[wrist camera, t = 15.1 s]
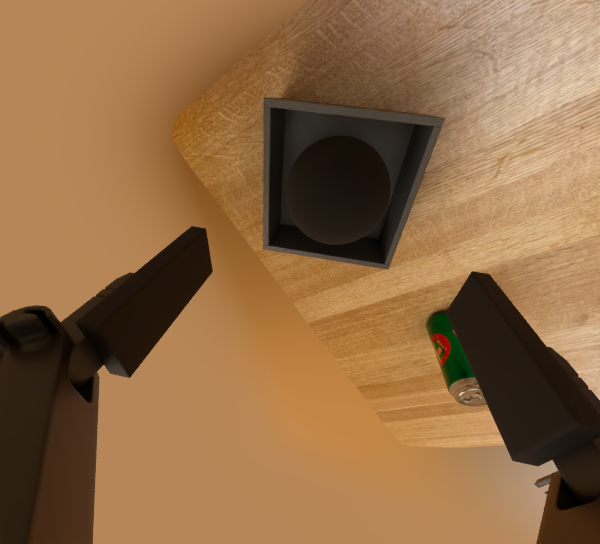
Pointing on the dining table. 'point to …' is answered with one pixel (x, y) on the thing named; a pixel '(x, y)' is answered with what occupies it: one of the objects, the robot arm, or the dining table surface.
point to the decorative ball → (338, 190)
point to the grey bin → (359, 124)
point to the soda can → (454, 362)
